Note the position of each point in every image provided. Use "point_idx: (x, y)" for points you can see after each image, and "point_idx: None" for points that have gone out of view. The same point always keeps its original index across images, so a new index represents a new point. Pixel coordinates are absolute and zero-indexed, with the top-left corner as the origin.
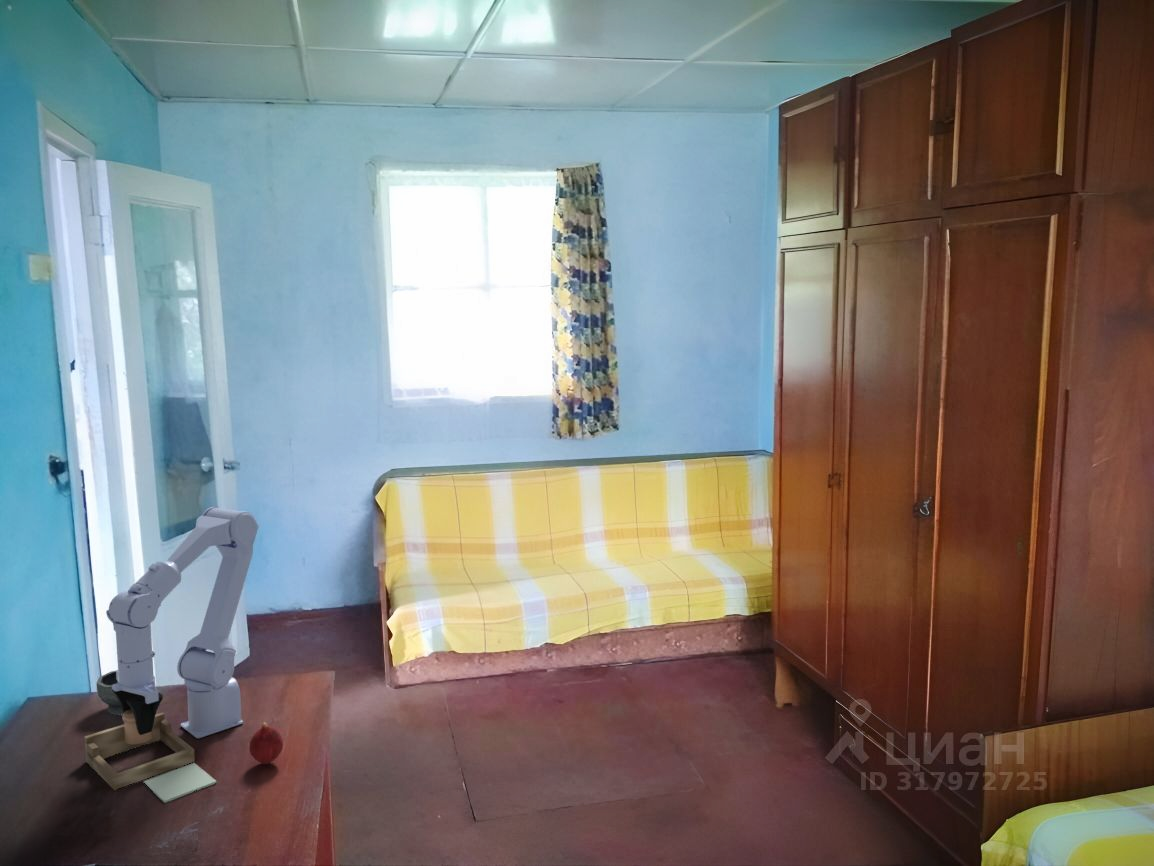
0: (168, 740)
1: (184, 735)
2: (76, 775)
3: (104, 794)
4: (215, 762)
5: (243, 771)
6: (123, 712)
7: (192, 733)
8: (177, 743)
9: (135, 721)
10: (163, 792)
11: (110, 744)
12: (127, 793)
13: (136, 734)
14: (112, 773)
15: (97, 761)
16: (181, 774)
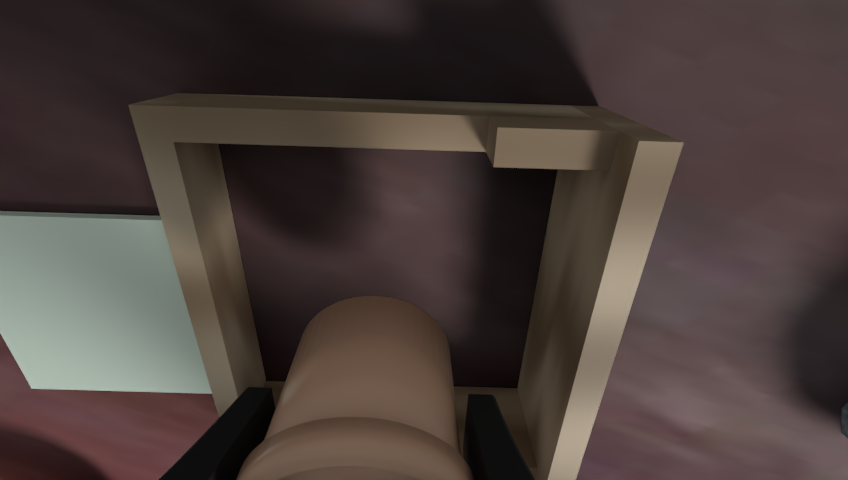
0: None
1: None
2: (493, 5)
3: (167, 38)
4: (204, 429)
5: (88, 452)
6: (513, 471)
7: None
8: None
9: (208, 475)
10: (17, 238)
11: (569, 244)
12: (117, 129)
13: (288, 375)
14: (184, 118)
15: (408, 113)
16: (152, 336)
